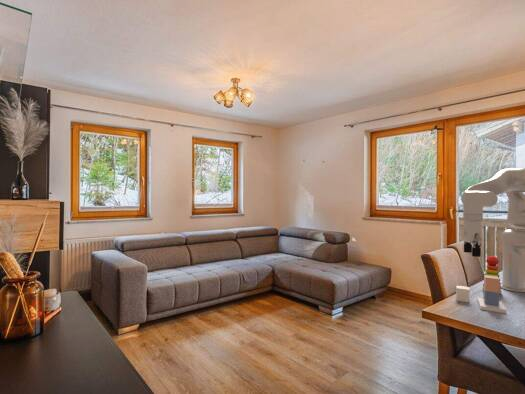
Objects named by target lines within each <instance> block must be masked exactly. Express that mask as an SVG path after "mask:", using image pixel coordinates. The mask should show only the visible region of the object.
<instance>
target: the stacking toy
mask: <svg viewBox="0 0 525 394" xmlns="http://www.w3.org/2000/svg"><path fill="white" fill-rule="evenodd" d="M499 262H500V260H499V259H498V257H497V256H495V255H489V256H487V257H486V263H487V265H486V268H485V273H484V275H489V276H498V278H499V279H500V280H501V278H500V274H499V266H498V264H499ZM501 283H502V282H500V285H501ZM501 289H502V288H501V287H500V289H499V295H501V294H502V290H501ZM482 291H483V292H484V283H483V284H482Z"/></svg>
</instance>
